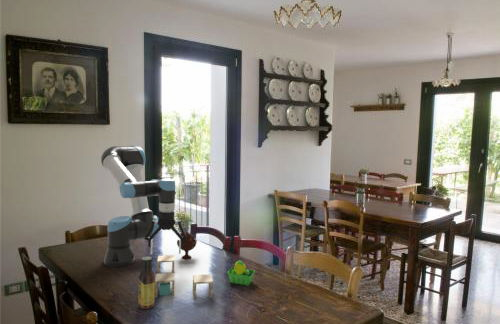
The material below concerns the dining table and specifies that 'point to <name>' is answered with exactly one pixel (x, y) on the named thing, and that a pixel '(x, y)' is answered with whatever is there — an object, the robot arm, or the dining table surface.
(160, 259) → the cover
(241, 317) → the dining table surface
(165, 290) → the teal cube
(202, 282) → the cover
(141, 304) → the sauce bottle
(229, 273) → the fruit basket
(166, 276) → the cover
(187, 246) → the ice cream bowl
